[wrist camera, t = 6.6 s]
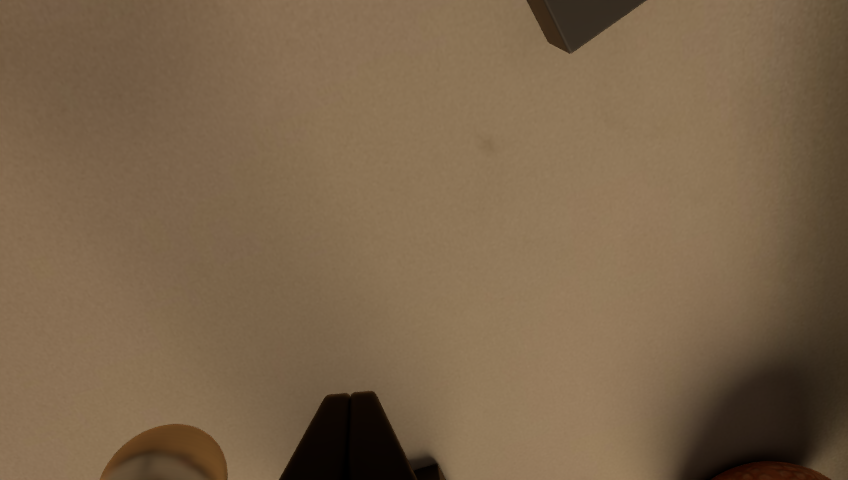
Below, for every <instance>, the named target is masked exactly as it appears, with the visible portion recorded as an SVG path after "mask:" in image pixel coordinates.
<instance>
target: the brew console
mask: <svg viewBox="0 0 848 480" xmlns="http://www.w3.org/2000/svg"><path fill="white" fill-rule="evenodd" d="M645 1H646V0H527V2H528V4H529V6H530V8H531V10H532V12H533V13H534V15H535V17H536V19H537V21H538V23H539V25H540V27H541V29H542V31H543V33H544V35H545V37H546V39H547V41H548V42H549V43H550V44H552V45H554V46H556V47H558V48H560V49H562V50H564V51H566V52H567V53H569V54H570V53H573V52H574V51H576V50H577V49H578V48H580V47H581V46H583V45H584V44H586V43H587V42H588V41H590V40H591V39H593V38H594V37H595V36H597V35H598V34H600V33H601V32H602V31H604V30H605V29H607V28H608V27H610V26H611V25H612V24H614V23H615V22H617V21H618V20H619V19H621V18H622V17H624V16H625V15H627V14H628V13H629V12H631V11H632V10H634V9H635V8H636V7H638V6H639V5H641V4H642V3H643V2H645Z"/></svg>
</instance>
